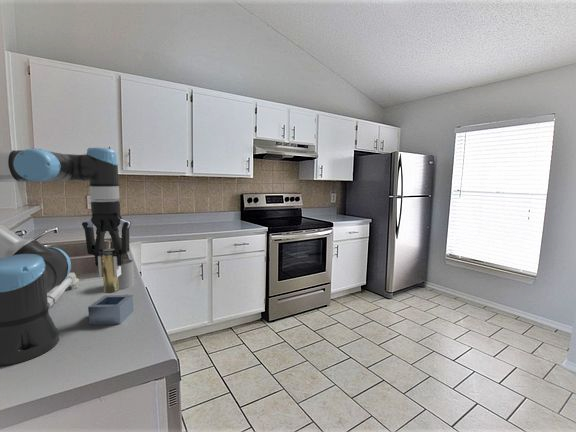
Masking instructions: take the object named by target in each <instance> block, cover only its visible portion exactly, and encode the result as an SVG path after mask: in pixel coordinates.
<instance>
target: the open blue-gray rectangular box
mask: <svg viewBox="0 0 576 432" xmlns="http://www.w3.org/2000/svg"><path fill="white" fill-rule="evenodd" d="M133 297H134V296H133V295H132V294H121V295H118V294H117V295H115V294H113V295H111V294H110V295H107V294H106V295H103V296H101V297H100V298H99V299H97V300H96V301H95V302H93V303H91V304H90V305H89V306H88V307H87V309H88V310H87V311H88V323H89V326H90V325H91V326H92V325H121V324H122V323H123V322H124V321H125V320H126V319H127V318H128V317H129V316H130V315H131V314H133V312H134V298H133Z"/></svg>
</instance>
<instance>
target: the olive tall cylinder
mask: <svg viewBox="0 0 576 432" xmlns="http://www.w3.org/2000/svg"><path fill="white" fill-rule="evenodd" d="M115 255H116V253H115V250H114V248H107V249H106V248H105V249H103V250H101V257H102V271H103V277H102V282H103V283H102V284H103V293H104V294H113V293H114V294H115V293H117V292H119V290H120V289H119V285H118V277H115V276H114V261H113V256H115Z"/></svg>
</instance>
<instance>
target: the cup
mask: <svg viewBox="0 0 576 432" xmlns="http://www.w3.org/2000/svg"><path fill="white" fill-rule="evenodd" d="M118 285H119V290H127V289H131V288H132V287H133V286H134V285H135V276H134V261H133V259H129V258H127V259H124V258H123V265H121V275H120V276H118Z"/></svg>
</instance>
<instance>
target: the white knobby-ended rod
mask: <svg viewBox="0 0 576 432" xmlns="http://www.w3.org/2000/svg"><path fill="white" fill-rule="evenodd" d="M79 282H80V279H79V278H78V277H77V275H76V274H75V272H69V274H68V276H67V277H66V278H65V280H64V281H63V282H62V283H61V284H60V285H58V286H56V287H55V288H53V289H52V290H51V291H50V292H48V293H47V300H48V310H49V309H51V308H52V307H53V306H54V305H56V301H57V300H58V299H59V298H60V297H61V296H62V294H63V293H64V292H65V291H73V290H75V289H77V288H79Z"/></svg>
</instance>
